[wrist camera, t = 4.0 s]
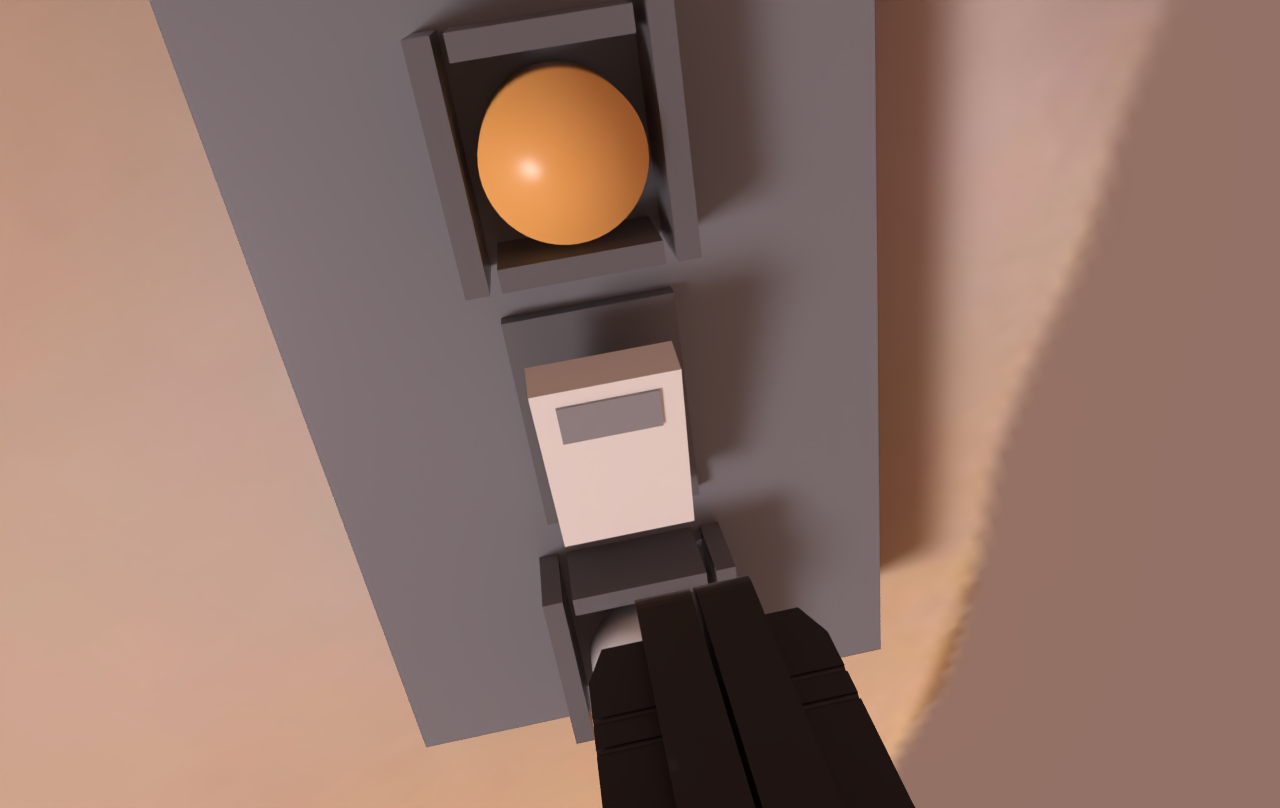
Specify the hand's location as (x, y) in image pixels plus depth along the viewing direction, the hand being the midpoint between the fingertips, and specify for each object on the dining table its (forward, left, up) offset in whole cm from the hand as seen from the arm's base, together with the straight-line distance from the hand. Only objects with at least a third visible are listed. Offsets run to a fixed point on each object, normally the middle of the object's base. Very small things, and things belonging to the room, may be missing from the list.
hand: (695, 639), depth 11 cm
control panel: (-2, 0, -13) cm, 13 cm away
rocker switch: (+2, 0, -9) cm, 9 cm away
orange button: (-5, 0, -10) cm, 11 cm away
